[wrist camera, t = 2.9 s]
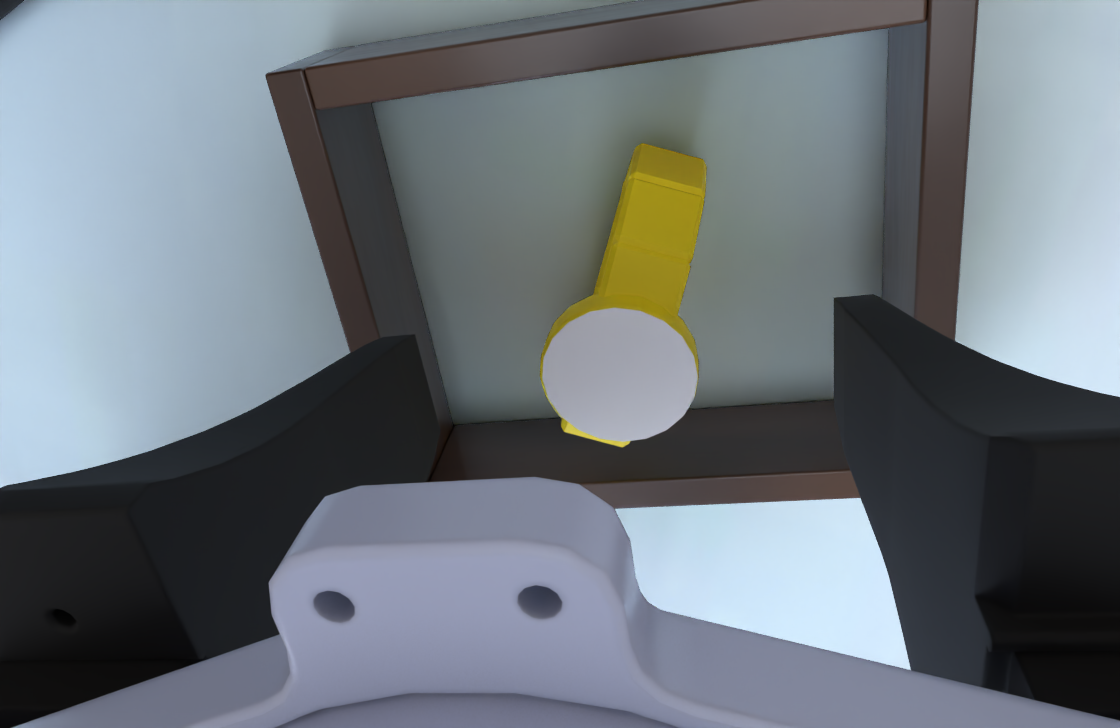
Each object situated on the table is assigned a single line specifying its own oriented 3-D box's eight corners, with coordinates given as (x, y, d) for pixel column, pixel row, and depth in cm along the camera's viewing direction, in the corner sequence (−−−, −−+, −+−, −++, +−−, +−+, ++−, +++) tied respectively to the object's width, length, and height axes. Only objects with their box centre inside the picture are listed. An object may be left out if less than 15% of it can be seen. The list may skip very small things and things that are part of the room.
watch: (611, 106, 18) (584, 184, 13) (735, 138, 18) (758, 231, 13) (551, 342, 21) (508, 484, 16) (657, 370, 21) (650, 522, 16)
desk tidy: (432, 450, 23) (400, 519, 20) (323, 50, 18) (263, 74, 16) (912, 421, 21) (945, 495, 18) (933, -47, 16) (983, -39, 13)
